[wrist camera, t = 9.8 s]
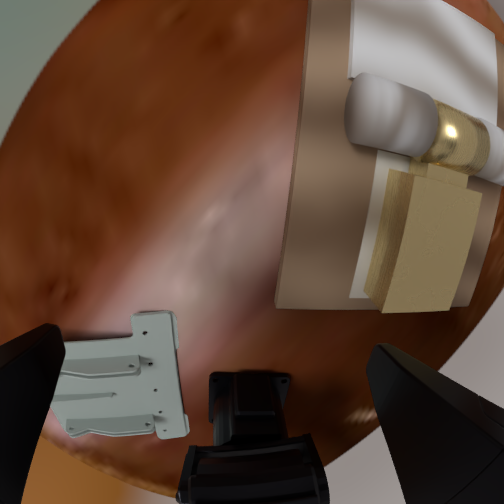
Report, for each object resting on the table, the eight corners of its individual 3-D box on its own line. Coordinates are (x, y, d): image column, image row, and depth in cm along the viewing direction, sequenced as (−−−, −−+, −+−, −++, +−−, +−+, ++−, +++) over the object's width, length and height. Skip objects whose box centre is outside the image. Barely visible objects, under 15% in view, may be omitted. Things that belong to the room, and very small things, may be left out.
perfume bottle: (427, 291, 21) (456, 317, 17) (363, 290, 20) (388, 321, 16) (462, 120, 16) (501, 123, 12) (396, 95, 15) (434, 89, 12)
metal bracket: (64, 457, 20) (-2, 337, 14) (66, 415, 25) (19, 297, 19) (203, 445, 25) (193, 323, 19) (190, 404, 30) (179, 284, 24)
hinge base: (462, 301, 23) (493, 329, 18) (274, 301, 21) (286, 345, 16) (499, 48, 15) (538, 43, 10) (310, -37, 13) (332, -74, 8)
